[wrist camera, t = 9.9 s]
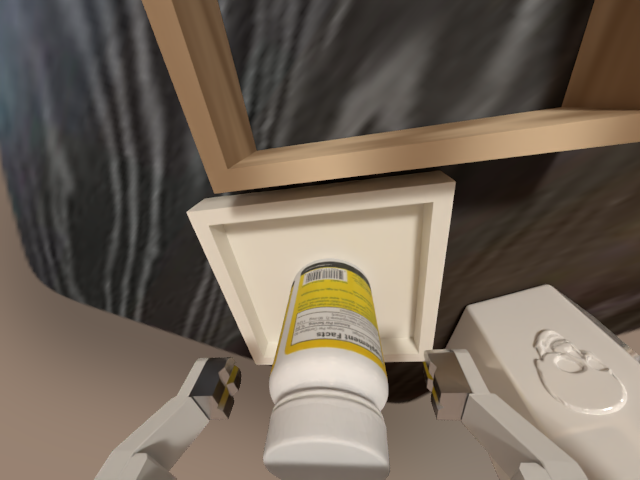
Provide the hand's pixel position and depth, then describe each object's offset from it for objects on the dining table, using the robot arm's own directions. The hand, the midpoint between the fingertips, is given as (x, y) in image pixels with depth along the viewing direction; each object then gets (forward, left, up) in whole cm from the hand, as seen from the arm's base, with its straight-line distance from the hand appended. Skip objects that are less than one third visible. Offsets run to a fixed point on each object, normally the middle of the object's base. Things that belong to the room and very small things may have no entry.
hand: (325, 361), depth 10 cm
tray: (0, 0, -6) cm, 6 cm away
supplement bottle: (0, 0, -5) cm, 5 cm away
